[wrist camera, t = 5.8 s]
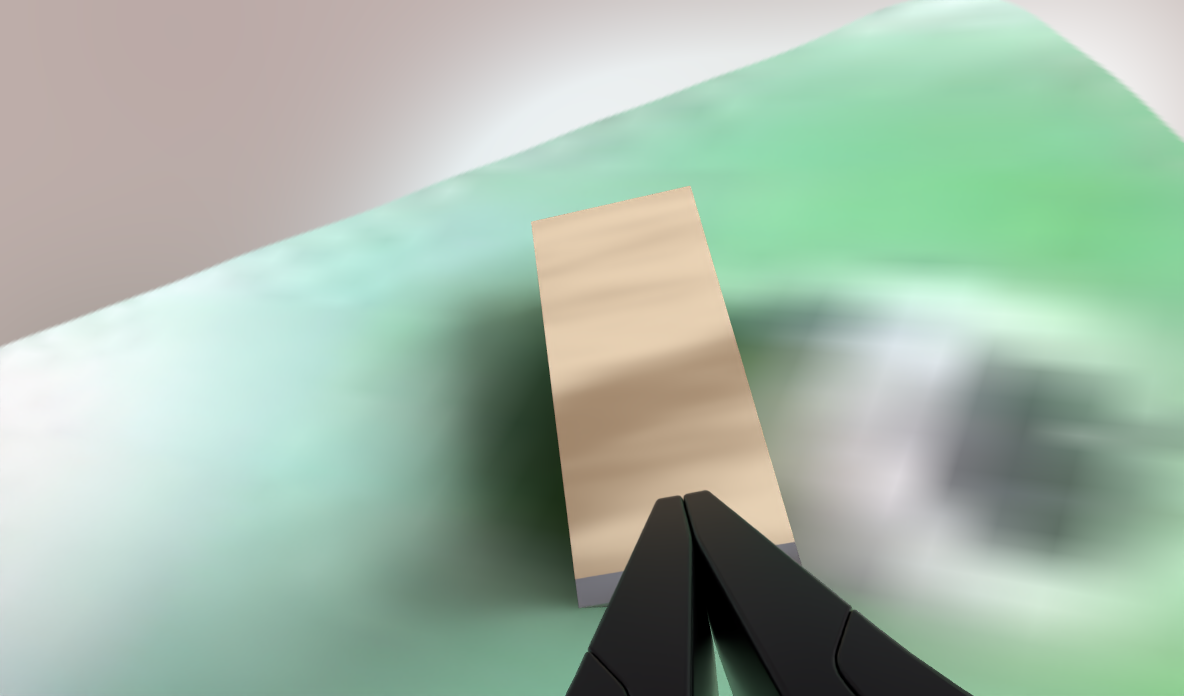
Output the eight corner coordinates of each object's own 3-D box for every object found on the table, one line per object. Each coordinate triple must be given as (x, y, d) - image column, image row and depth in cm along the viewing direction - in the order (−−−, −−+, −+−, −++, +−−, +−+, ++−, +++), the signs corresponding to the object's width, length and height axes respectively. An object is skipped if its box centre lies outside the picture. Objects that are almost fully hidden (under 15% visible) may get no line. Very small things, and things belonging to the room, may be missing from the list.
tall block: (803, 570, 12) (689, 185, 17) (579, 608, 12) (531, 221, 17) (772, 579, 16) (690, 273, 21) (608, 607, 17) (564, 300, 22)
